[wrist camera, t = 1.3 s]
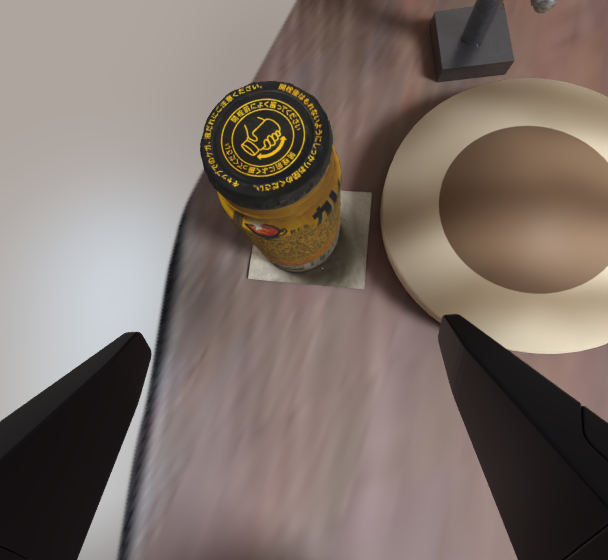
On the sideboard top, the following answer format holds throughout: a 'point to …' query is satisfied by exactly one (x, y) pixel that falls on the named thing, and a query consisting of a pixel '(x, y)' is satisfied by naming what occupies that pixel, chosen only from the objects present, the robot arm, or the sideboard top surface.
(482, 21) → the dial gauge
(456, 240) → the ring
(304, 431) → the sideboard top surface
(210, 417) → the sideboard top surface
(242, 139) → the condiment
